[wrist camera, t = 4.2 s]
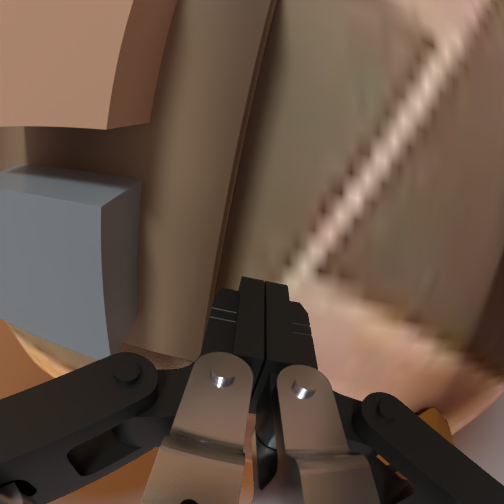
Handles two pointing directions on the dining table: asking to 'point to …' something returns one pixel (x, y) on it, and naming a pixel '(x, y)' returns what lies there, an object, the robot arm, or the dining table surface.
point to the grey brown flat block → (174, 163)
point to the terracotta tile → (81, 61)
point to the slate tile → (69, 256)
